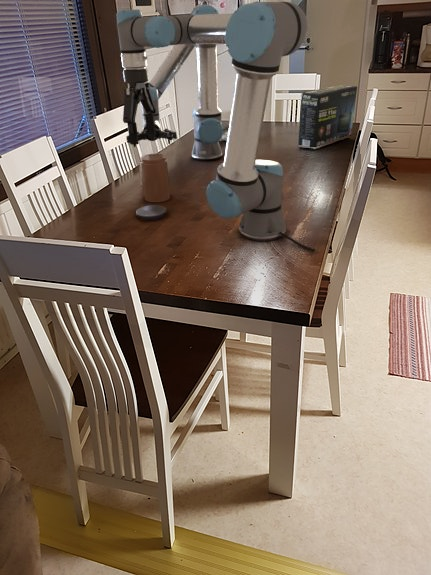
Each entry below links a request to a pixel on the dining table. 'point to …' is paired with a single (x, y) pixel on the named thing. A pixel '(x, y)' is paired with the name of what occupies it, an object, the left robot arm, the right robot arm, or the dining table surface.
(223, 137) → the fossil
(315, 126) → the router box
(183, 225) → the dining table surface
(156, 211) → the lid
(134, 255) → the dining table surface
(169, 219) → the dining table surface
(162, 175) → the jar
